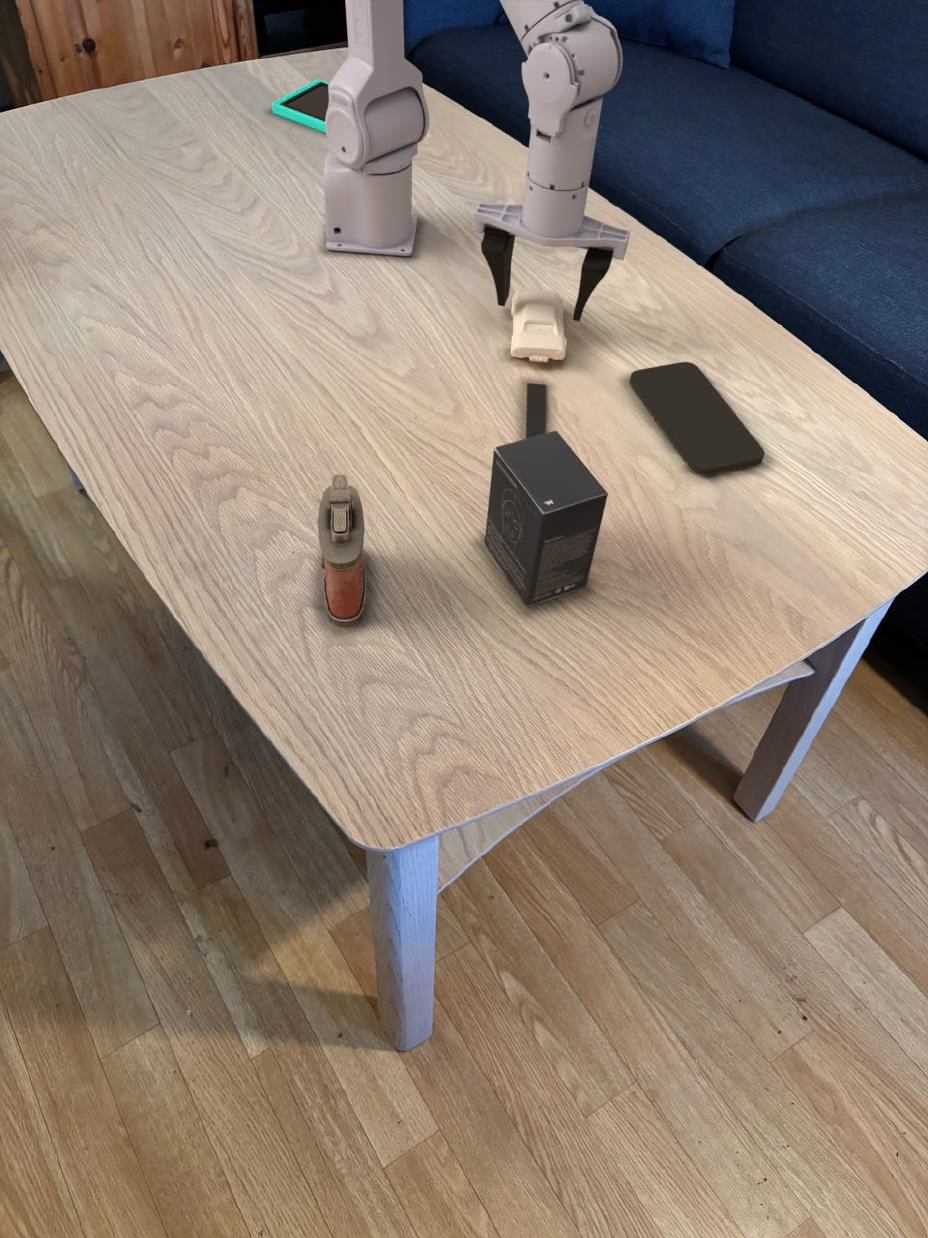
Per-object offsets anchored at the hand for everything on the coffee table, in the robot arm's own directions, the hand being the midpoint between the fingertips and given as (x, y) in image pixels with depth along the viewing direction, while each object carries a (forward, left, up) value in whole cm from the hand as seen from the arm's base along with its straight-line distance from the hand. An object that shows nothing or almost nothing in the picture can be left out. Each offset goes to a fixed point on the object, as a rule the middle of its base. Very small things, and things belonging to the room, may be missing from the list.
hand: (540, 307), depth 97 cm
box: (0, -32, -3) cm, 32 cm away
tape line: (0, -16, -3) cm, 16 cm away
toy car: (0, -1, -3) cm, 3 cm away
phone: (+15, -12, -3) cm, 19 cm away
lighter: (-15, -36, -3) cm, 39 cm away
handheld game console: (-26, +44, -3) cm, 51 cm away
